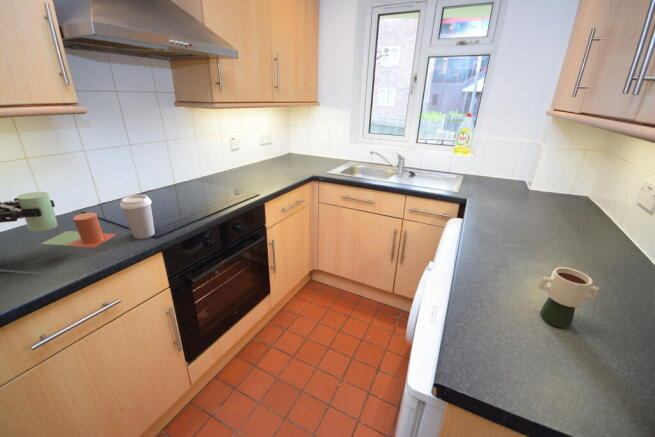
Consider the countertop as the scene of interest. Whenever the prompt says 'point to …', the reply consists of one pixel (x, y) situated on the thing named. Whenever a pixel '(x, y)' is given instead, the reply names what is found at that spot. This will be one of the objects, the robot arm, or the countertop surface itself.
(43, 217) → the mint green cylinder
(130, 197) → the coffee cup
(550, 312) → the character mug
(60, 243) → the board
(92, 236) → the orange cylinder on base
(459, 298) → the countertop surface
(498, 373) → the countertop surface
